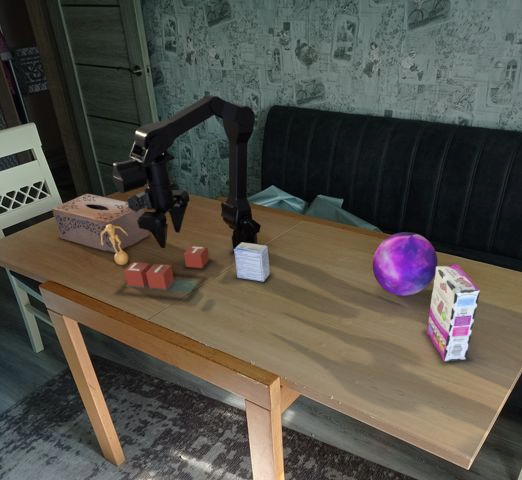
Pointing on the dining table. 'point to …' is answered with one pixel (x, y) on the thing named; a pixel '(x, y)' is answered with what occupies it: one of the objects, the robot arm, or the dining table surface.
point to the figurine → (120, 256)
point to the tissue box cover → (98, 222)
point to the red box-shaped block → (160, 276)
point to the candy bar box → (452, 312)
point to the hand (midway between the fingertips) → (170, 239)
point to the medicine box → (252, 261)
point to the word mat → (177, 286)
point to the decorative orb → (404, 263)
